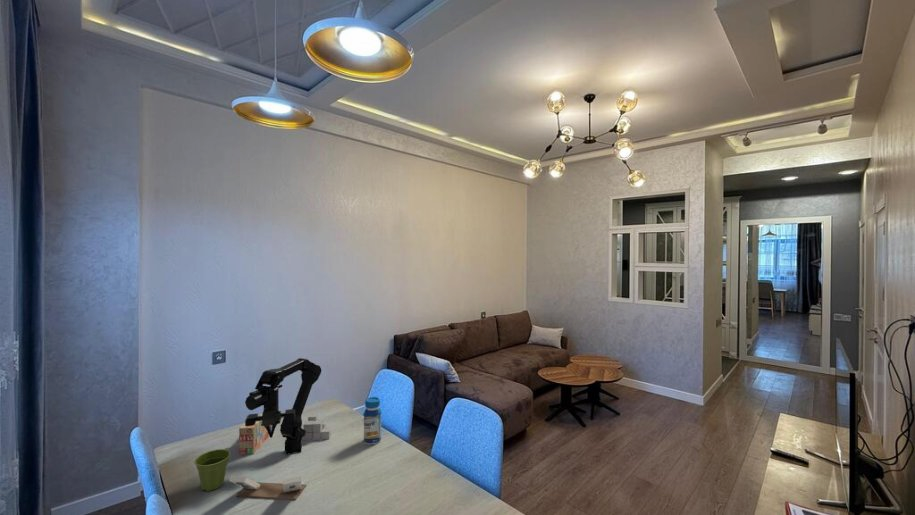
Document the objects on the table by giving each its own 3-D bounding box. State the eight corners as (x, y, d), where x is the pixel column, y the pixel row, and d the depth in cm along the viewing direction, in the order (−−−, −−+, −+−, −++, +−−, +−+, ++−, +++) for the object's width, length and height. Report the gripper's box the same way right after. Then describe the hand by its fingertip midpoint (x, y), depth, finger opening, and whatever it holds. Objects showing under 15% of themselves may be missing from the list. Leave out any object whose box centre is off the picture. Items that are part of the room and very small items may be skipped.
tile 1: (283, 488, 142) (283, 479, 135) (301, 484, 144) (301, 475, 137) (283, 494, 141) (282, 485, 133) (301, 490, 143) (301, 481, 136)
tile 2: (246, 483, 145) (231, 475, 137) (260, 484, 144) (246, 476, 136) (243, 489, 143) (228, 482, 136) (258, 490, 143) (243, 483, 135)
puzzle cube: (329, 439, 182) (329, 423, 182) (303, 441, 181) (303, 424, 180) (334, 427, 194) (334, 412, 194) (310, 429, 193) (309, 413, 192)
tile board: (249, 483, 148) (249, 481, 147) (306, 486, 146) (306, 484, 146) (235, 496, 140) (235, 495, 140) (295, 499, 138) (295, 498, 138)
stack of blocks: (260, 431, 189) (260, 407, 189) (273, 431, 190) (273, 407, 190) (239, 455, 168) (238, 427, 168) (253, 454, 169) (253, 427, 168)
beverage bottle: (385, 439, 182) (385, 398, 182) (372, 447, 175) (372, 404, 175) (372, 434, 187) (372, 394, 186) (359, 442, 179) (359, 400, 179)
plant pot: (203, 499, 138) (203, 469, 138) (188, 488, 144) (188, 459, 144) (237, 482, 148) (236, 454, 148) (221, 473, 154) (221, 445, 154)
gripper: (242, 411, 149) (242, 450, 149) (293, 405, 155) (293, 442, 155) (247, 400, 159) (247, 437, 160) (295, 395, 165) (295, 430, 166)
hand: (271, 437), depth 160 cm, fingers closed
